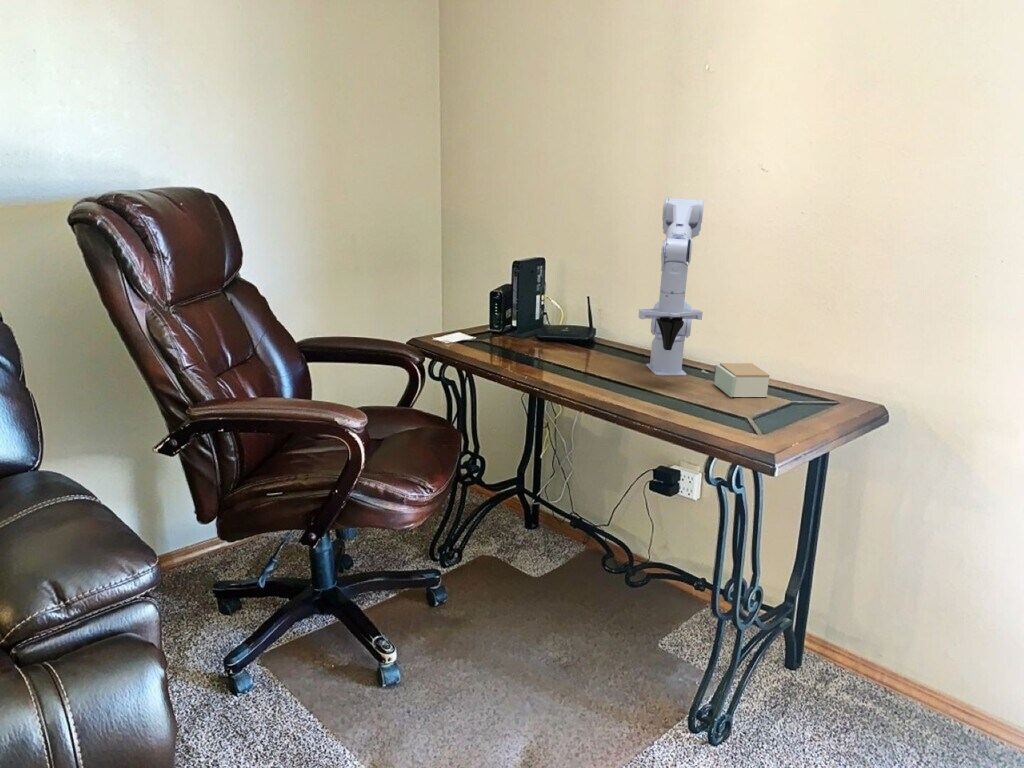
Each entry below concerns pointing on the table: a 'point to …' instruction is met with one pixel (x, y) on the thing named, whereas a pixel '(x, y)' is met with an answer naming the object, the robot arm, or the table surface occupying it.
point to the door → (724, 380)
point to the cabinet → (748, 379)
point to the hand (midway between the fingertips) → (667, 349)
